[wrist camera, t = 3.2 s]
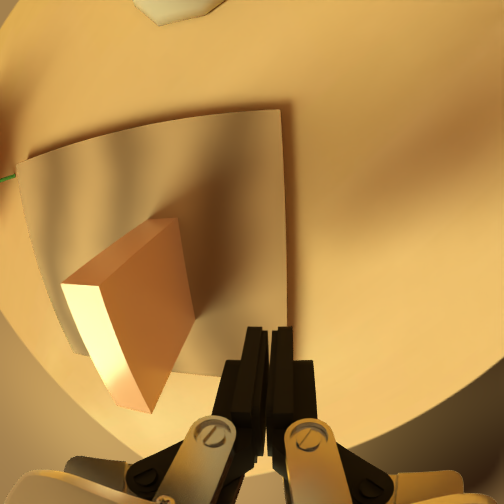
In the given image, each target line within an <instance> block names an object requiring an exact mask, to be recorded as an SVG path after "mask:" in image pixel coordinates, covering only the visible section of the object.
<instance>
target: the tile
mask: <svg viewBox="0 0 504 504" xmlns="http://www.w3.org/2000/svg"><path fill="white" fill-rule="evenodd" d="M60 284H61V287H62V289H63V292H64V295H65V298H66V300H67V303H68V306H69V308H70V311H71V313H72V316H73V318H74V321H75V323H76V326H77V328H78V330H79V333H80V335H81V337H82V339H83V342H84V344H85V346H86V348H87V350H88V352H89V355H90V357H91V359H92V361H93V363H94V365H95V367H96V369H97V371H98V372H99V374H100V376H101V378H102V380H103V382H104V384H105V386H106V387H107V389H108V391H109V393H110V394H111V396H112V398H113V400H114V401H115V403H116V405H117V406H120V407H124V408H127V409H131V410H136V411H140V412H144V413H149V414H152V412H153V410H154V408H155V406H156V403H157V401H158V399H159V397H160V395H161V392H162V390H163V388H164V386H165V384H166V382H167V379H168V377H169V375H170V373H171V371H172V369H173V366H174V364H175V362H176V360H177V358H178V356H179V354H180V352H181V349H182V347H183V345H184V343H185V341H186V339H187V337H188V335H189V332H190V330H191V328H192V326H193V324H194V322H195V315H194V310H193V305H192V300H191V294H190V289H189V284H188V278H187V272H186V267H185V261H184V255H183V248H182V242H181V236H180V229H179V222H178V218H162V219H147V220H146V221H144V222H143V223H141V224H140V225H138V226H137V227H135V228H134V229H133V230H131V231H130V232H128V233H127V234H125V235H124V236H123V237H121V238H120V239H118V240H117V241H116V242H114V243H113V244H111V245H110V246H109V247H107V248H106V249H105V250H103V251H102V252H100V253H99V254H98V255H96V256H95V257H94V258H92V259H91V260H90V261H88V262H87V263H86V264H85V265H83V266H82V267H81V268H79V269H78V270H77V271H75V272H74V273H73V274H72V275H70V276H69V277H68V278H67V279H65V280H64V281H63V282H62V283H60Z"/></svg>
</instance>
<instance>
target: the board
mask: <svg viewBox="0 0 504 504" xmlns="http://www.w3.org/2000/svg"><path fill="white" fill-rule="evenodd" d="M16 169H17V176H18V182H19V189H20V194H21V200H22V205H23V210H24V214H25V219H26V223H27V227H28V231H29V235H30V239H31V243H32V247H33V250H34V254H35V257H36V260H37V263H38V267H39V270H40V273H41V276H42V279H43V282H44V284H45V287H46V290H47V293H48V295H49V298H50V301H51V303H52V306H53V308H54V311H55V313H56V316H57V318H58V320H59V323H60V325H61V327H62V329H63V332H64V334H65V336H66V338H67V340H68V342H69V345H70V347H71V349H72V351H73V353H76V354H80V355H84V356H89V357H90V355H89V352H88V350H87V348H86V346H85V344H84V342H83V339H82V337H81V335H80V333H79V330H78V328H77V326H76V323H75V321H74V318H73V316H72V313H71V311H70V308H69V306H68V303H67V300H66V298H65V295H64V292H63V289H62V287H61V284H60V283H62V282H63V281H64V280H65V279H67V278H68V277H69V276H70V275H72V274H73V273H74V272H75V271H77V270H78V269H79V268H81V267H82V266H83V265H85V264H86V263H87V262H88V261H90V260H91V259H92V258H94V257H95V256H96V255H98V254H99V253H100V252H102V251H103V250H105V249H106V248H107V247H109V246H110V245H111V244H113V243H114V242H116V241H117V240H118V239H120V238H121V237H123V236H124V235H125V234H127V233H128V232H130V231H131V230H133V229H134V228H135V227H137V226H138V225H140V224H141V223H143V222H144V221H146V220H147V219H162V218H178V222H179V229H180V236H181V242H182V248H183V255H184V261H185V267H186V272H187V278H188V284H189V289H190V294H191V300H192V305H193V310H194V315H195V322H194V324H193V326H192V328H191V330H190V332H189V335H188V337H187V339H186V341H185V343H184V345H183V347H182V349H181V352H180V354H179V356H178V358H177V360H176V362H175V364H174V366H173V369H172V371H171V372H178V373H186V374H195V375H205V376H216V377H221V376H222V372H223V368H224V365H225V361H226V360H241V356H242V351H243V346H244V341H245V336H246V331H247V327H248V326H254V327H262V329H263V330H268V345H269V365H270V352H271V339H272V330H278V327H282V326H287V251H286V212H285V184H284V162H283V142H282V124H281V111H280V109H274V110H256V111H242V112H231V113H221V114H213V115H204V116H197V117H190V118H183V119H177V120H171V121H165V122H160V123H155V124H149V125H144V126H140V127H135V128H131V129H126V130H122V131H118V132H114V133H110V134H106V135H102V136H98V137H95V138H91V139H87V140H84V141H81V142H77V143H74V144H71V145H68V146H65V147H61V148H58V149H55V150H53V151H50V152H47V153H44V154H41V155H39V156H36V157H33V158H31V159H28V160H25V161H23V162H20V163H18V164H16Z"/></svg>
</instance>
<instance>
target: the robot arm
mask: <svg viewBox="0 0 504 504" xmlns="http://www.w3.org/2000/svg"><path fill="white" fill-rule="evenodd" d="M266 432H267V450H268V456H272V463H273V469H274V470H275V471H276V472H278V473H279V474H280V475H281V476H282V477H283V486H284V494H285V501H286V504H497V502H496V501H495V500H494V499H493V498H492V497H490V496H487V495H484V494H476V493H464V491H463V490H464V487H463V479H462V477H461V475H460V474H459V473H457V472H455V471H451V470H445V471H434V472H418V473H399V474H398V475H388V474H386V473H385V472H383V471H382V470H380V469H378V468H376V467H375V466H373V465H371V464H370V463H368V462H366V461H365V460H363V459H361V458H360V457H358V456H357V455H355V454H354V453H352V452H350V451H349V450H347V449H346V448H344V447H343V446H341V445H340V444H338V443H337V442H336V441H335V438H334V434H333V432H332V430H331V428H330V426H328V425H327V424H326V423H325V422H323V421H321V420H318V419H317V404H316V390H315V378H314V366H313V360H299V361H293V330H292V326H282V327H278V330H272V339H271V352H270V365H269V345H268V330H263V329H262V327H254V326H248V327H247V331H246V336H245V341H244V346H243V351H242V356H241V360H226V361H225V365H224V368H223V372H222V376H221V380H220V384H219V388H218V392H217V396H216V399H215V403H214V407H213V411H212V415H211V416H205V417H203V418H200V419H198V420H197V421H196V422H194V423H193V425H192V426H191V427H190V429H189V431H188V433H187V435H186V437H185V439H184V440H182V441H180V442H178V443H176V444H174V445H172V446H170V447H168V448H166V449H164V450H162V451H160V452H158V453H156V454H153V455H151V456H149V457H147V458H145V459H143V460H140V461H138V462H136V463H134V464H127V463H126V462H125V461H115V460H106V459H99V458H92V457H85V456H75V457H73V458H71V459H70V460H69V461H68V462H67V464H66V465H65V469H64V472H61V471H56V470H46V469H41V470H32V471H29V472H27V473H25V474H24V475H23V476H21V477H20V478H19V480H18V481H17V482H16V484H15V485H14V486H13V488H12V489H11V491H10V492H9V494H8V496H7V498H6V500H5V501H4V503H3V504H235V502H236V500H237V497H238V494H239V491H240V488H241V485H242V482H243V480H244V477H245V473H246V472H248V471H249V470H251V469H252V468H254V463H257V457H258V456H263V454H264V444H265V433H266Z"/></svg>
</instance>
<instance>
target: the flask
mask: <svg viewBox="0 0 504 504" xmlns="http://www.w3.org/2000/svg"><path fill="white" fill-rule="evenodd" d="M223 1H225V0H133V2H134V5H135V7H136V8H138V9H139V10H140V11H141V12H142V13H144V14H145V15H146V16H147V17H148V18H150V19H151V20H152V21H153V22H154V23H156V24H157V25H158V26H162V25H165V24H169V23H173V22H177V21H182V20H186V19H191V18H195V17H200V16H205V15H206V14H207V13H209V12H210V11H211V10H212V9H214V8H215V7H216V6H218V5H219V4H220V3H222V2H223Z"/></svg>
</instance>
